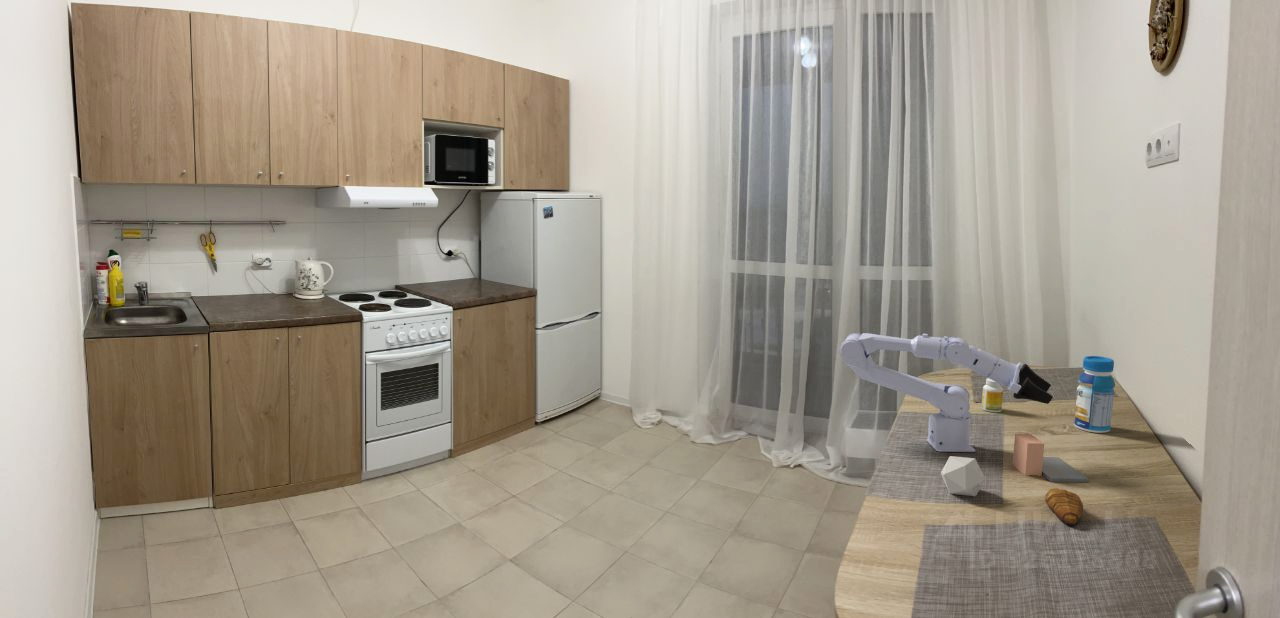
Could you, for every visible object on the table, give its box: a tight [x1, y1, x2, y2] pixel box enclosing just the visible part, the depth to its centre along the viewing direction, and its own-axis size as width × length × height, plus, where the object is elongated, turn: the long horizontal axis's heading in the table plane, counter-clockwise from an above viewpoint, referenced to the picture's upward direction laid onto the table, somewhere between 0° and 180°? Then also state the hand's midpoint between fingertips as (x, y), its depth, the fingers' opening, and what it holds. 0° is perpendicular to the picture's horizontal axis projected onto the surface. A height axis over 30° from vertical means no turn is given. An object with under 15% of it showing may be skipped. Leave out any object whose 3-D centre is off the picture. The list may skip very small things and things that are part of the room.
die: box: [940, 455, 986, 497], centre depth 137 cm, size 8×9×10 cm
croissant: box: [1044, 488, 1084, 527], centre depth 127 cm, size 14×7×5 cm, turn 159°
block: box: [1012, 433, 1045, 477], centre depth 146 cm, size 4×6×8 cm, turn 174°
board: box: [1042, 456, 1089, 483], centre depth 146 cm, size 8×12×1 cm, turn 174°
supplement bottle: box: [981, 377, 1004, 413], centre depth 187 cm, size 5×5×10 cm
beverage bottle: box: [1073, 355, 1116, 434], centre depth 169 cm, size 8×8×20 cm
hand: (1049, 394), depth 150 cm, fingers open, 7 cm apart
